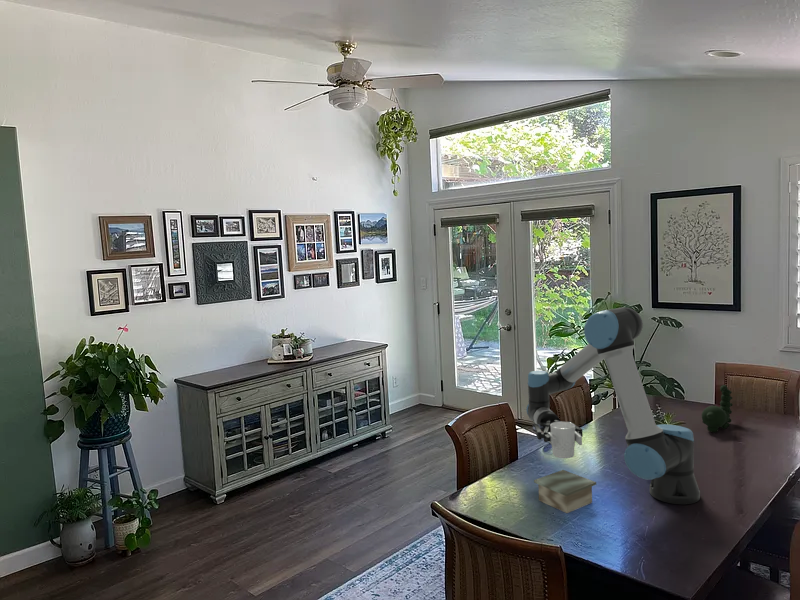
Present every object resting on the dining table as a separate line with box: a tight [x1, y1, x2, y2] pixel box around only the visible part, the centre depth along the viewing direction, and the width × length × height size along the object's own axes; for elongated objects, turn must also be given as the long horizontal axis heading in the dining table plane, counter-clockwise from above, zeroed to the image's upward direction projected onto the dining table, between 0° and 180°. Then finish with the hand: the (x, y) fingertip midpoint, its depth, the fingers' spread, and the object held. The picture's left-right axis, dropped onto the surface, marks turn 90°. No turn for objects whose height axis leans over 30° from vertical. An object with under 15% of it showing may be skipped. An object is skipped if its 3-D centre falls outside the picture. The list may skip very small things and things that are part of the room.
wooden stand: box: [533, 469, 597, 514], centre depth 193 cm, size 14×14×7 cm
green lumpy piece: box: [701, 384, 733, 433], centre depth 256 cm, size 9×19×25 cm
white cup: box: [550, 421, 576, 459], centre depth 192 cm, size 8×8×10 cm
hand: (567, 441), depth 187 cm, fingers closed on white cup, 8 cm apart
